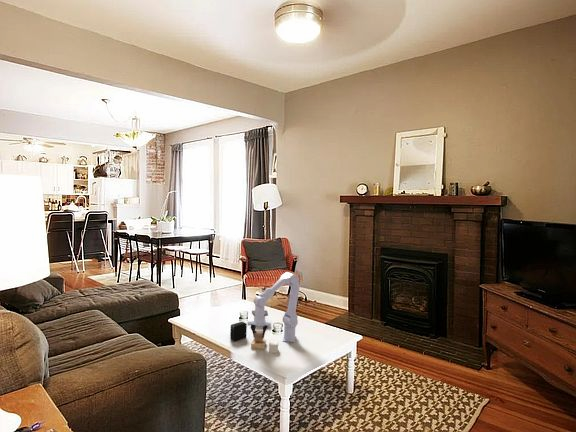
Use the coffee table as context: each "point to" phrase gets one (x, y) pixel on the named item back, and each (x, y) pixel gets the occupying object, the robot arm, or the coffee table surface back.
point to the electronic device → (238, 331)
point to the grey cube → (273, 346)
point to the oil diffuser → (264, 314)
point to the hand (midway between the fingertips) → (258, 337)
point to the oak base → (258, 344)
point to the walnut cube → (258, 336)
